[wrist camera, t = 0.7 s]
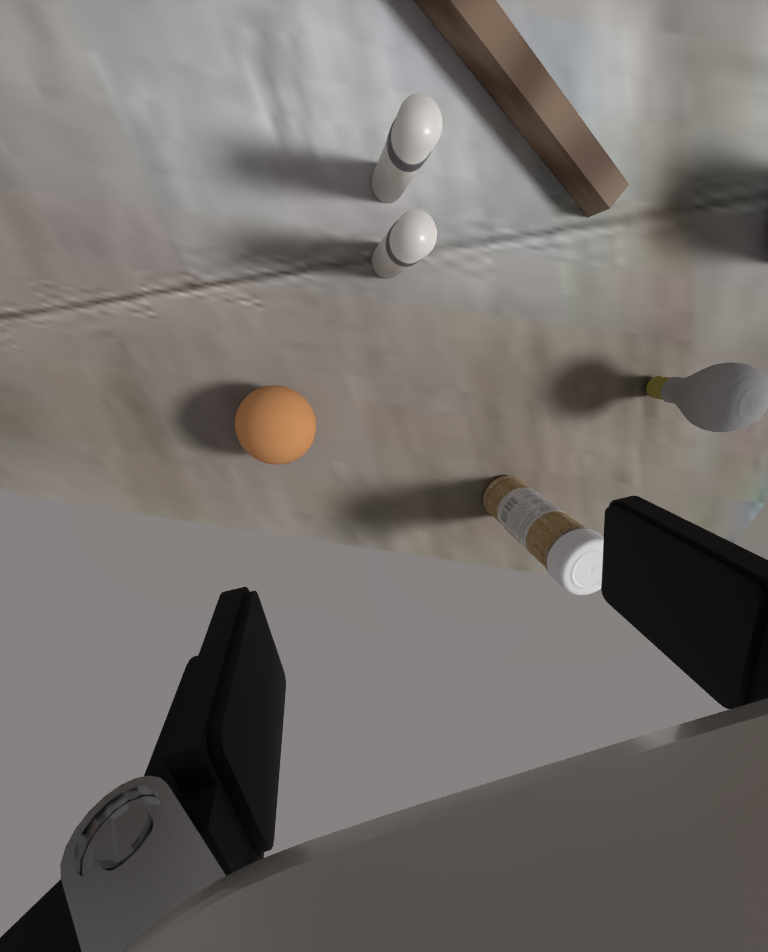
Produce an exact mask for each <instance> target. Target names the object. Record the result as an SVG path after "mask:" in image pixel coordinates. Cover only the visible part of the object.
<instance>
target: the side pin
mask: <svg viewBox="0 0 768 952" xmlns="http://www.w3.org/2000/svg"><path fill="white" fill-rule="evenodd" d="M441 131H442V116H441V112H440V109H439V107H438V106H437V104H436V103H435V101H434V100H433V99H432V98H430V97H429V96H427V95H425V94H413V95H411V96H409V97H408V98H407V99H406V100H405V101H404V102H403V103H402V105H401V107H400V109H399V112H398V114H397V117H396V118H395V120H394V122H393V124H392V126H391V129H390V131H389V134H388V137H387V141H386V144H385V146H384V148H383V151H382V153H381V156H380V158H379V161H378V163H377V166H376V168H375V170H374V173H373V175H372V180H371V185H372V190H373V192H374V194H375V196H376V197H377V198H378V199H379V200H380V201H382V202H384V203H393V202H395V201H396V200H398V199H399V197H400V196H401V195H402V193H403V192H404V190H405V189H406V187H407V186H408V184H409V183H410V181H411V180H412V178H413V177H414V175H415V174H416V172H417V171H418V170H419V168H420V167H421V166H422V165H423V164H424V162H425V161H426V159H427V158H428V156H429V155H430V153H431V151H432V149H433V147H434V146H435V145H436V143H437V141H438V140H439V138H440V135H441Z"/></svg>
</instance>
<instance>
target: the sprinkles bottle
mask: <svg viewBox="0 0 768 952" xmlns="http://www.w3.org/2000/svg"><path fill="white" fill-rule="evenodd" d="M483 503H484V507H485V509H486V511H487V512H488V513H489V514H491V515H492V516H494V517H495V518H496V519H497V520H498V521H499V522H500V523H501V524H502V525H503V526H504V527H505V529H506V530H507V531H508V532H509V533H510V534H511V535H512V536H513V537H514V538H515V539H516V540H517V541H518V542H519V543H520V544H522V545H523V546H524V547H525V548H526V549H527V550H528V551H529V552H530V553H531V554H532V555H533V556H535V558H536V559H537V560H538V561H539V562H541V563H542V564H543V565H544V566H545V567H546V569H547V570H548V572H549V574H550V575H551V576H552V578H553V579H554V580H556V582H557V583H559V584H560V585H561V586H562V587H563V588H564V589H565V590H567V591H568V592H570V593H572V594H577V595H585V594H590V593H593V592H595V591H597V590H599V589H601V584H602V564H603V543H604V537H603V536H601V535H600V534H598V533H597V532H596V531H594V530H591V529H588V528H585V527H584V526H583V525H581V524H580V523H578V522H577V521H575V520H574V519H573V518H571V517H570V516H569V515H568V514H567V513H565V512H564V511H562V510H561V509H559V508H558V507H557V506H555V505H554V504H552V503H551V502H549V501H548V500H547V499H545V498H544V497H542V496H541V495H540V494H538V493H537V492H535V491H534V490H532V489H530V488H529V487H527V486H526V485H524V484H523V483H522V482H521V481H520V480H519V479H518V478H516V477H513V476H507V475H506V476H502V477H499V478H497V479H495V480H494V481H492V482H491V483H490V484H489V485H488V487H487V489H486V490H485V492H484V496H483Z"/></svg>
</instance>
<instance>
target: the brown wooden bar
mask: <svg viewBox="0 0 768 952" xmlns="http://www.w3.org/2000/svg"><path fill="white" fill-rule="evenodd" d="M415 2H416V3H417V4H418V5H419V7H420V8H421V9H422V10H423V12H424V13H425V14H426V15H427V17H428V18H429V19H430V20H431V22H432V23H433V24H434V25H435V27H436V28H437V29H438V30H439V32H440V33H441V34H442V35H443V36H444V38H445V39H446V40H447V41H448V43H449V44H450V45H451V46H452V48H453V49H454V50H455V51H456V53H457V54H458V55H459V56H460V58H461V59H462V60H463V61H464V63H465V64H466V65H467V66H468V68H469V69H470V70H471V71H472V73H473V74H474V75H475V76H476V78H477V79H478V80H479V81H480V83H481V84H482V85H483V86H484V88H485V89H486V90H487V91H488V93H489V94H490V95H491V96H492V98H493V99H494V100H495V101H496V103H497V104H498V105H499V106H500V108H501V109H502V110H503V111H504V113H505V114H506V115H507V116H508V118H509V119H510V120H511V121H512V123H513V124H514V125H515V126H516V128H517V129H518V130H519V131H520V133H521V134H522V135H523V136H524V138H525V139H526V140H527V141H528V143H529V144H530V145H531V146H532V148H533V149H534V150H535V151H536V153H537V154H538V155H539V156H540V158H541V159H542V160H543V161H544V163H545V164H546V165H547V166H548V168H549V169H550V170H551V171H552V173H553V174H554V175H555V176H556V178H557V179H558V180H559V181H560V183H561V184H562V185H563V186H564V188H565V189H566V190H567V191H568V193H569V194H570V195H571V196H572V198H573V199H574V200H575V201H576V203H577V204H578V205H579V206H580V208H581V209H582V210H583V211H584V213H585V214H586V215H587V216H588V217H590V216H592V215H595V214H597V213H600V212H602V211H605V210H607V209H610V208H611V206H612V205H613V204H614V203H615V201H616V200H617V199H618V197H619V196H620V195H621V194H622V192H623V191H624V190H625V189H626V187H627V186H628V185H629V184H628V182H627V181H626V180H625V178H624V177H623V175H622V174H621V173H620V171H619V170H618V168H617V167H616V166H615V164H614V163H613V162H612V160H611V159H610V157H609V156H608V155H607V153H606V152H605V151H604V149H603V148H602V146H601V145H600V144H599V142H598V141H597V139H596V138H595V137H594V135H593V134H592V133H591V131H590V130H589V128H588V127H587V126H586V124H585V123H584V122H583V120H582V119H581V117H580V116H579V115H578V113H577V112H576V111H575V109H574V108H573V106H572V105H571V104H570V102H569V101H568V99H567V98H566V97H565V95H564V94H563V93H562V91H561V90H560V88H559V87H558V86H557V84H556V83H555V82H554V80H553V79H552V77H551V76H550V75H549V73H548V72H547V70H546V69H545V68H544V66H543V65H542V64H541V62H540V61H539V59H538V58H537V57H536V55H535V54H534V53H533V51H532V50H531V48H530V47H529V46H528V44H527V43H526V42H525V40H524V39H523V37H522V36H521V35H520V33H519V32H518V30H517V29H516V28H515V26H514V25H513V24H512V22H511V21H510V19H509V18H508V17H507V15H506V14H505V13H504V11H503V10H502V8H501V7H500V6H499V4H498V3H497V1H496V0H415Z"/></svg>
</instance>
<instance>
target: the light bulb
mask: <svg viewBox="0 0 768 952" xmlns="http://www.w3.org/2000/svg"><path fill="white" fill-rule="evenodd" d="M646 392H647V394H648V395H649V396H650V397H653V398H657V399H661V400H664V401H665V402H670V403H674V404H676V405H677V406H678V408H679V409H680V410H681V412H682V413H683V415H684V416H685V417H686V418H687V419H688V420H689V422H691V423H692V424H694V425H695V426H697V427H699V428H701V429H704V430H708V431H713V432H729V431H735V430H739V429H742V428H744V427H746V426H748V425H750V424H752V423H754V422H755V421H757V420H758V419H759V418H760V417H761V416H762V415H763V414H764V413H765V412H766V410H767V409H768V378H767V377H766V376H765V374H763V373H762V372H761V371H760V370H758V369H756V368H754V367H752V366H750V365H747V364H741V363H722V364H716V365H713V366H710V367H708V368H705V369H703V370H701V371H699V372H697V373H695V374H693V375H691V376H689V377H686V378H680V377H672V378H670V377H662V376H656V377H654V378H652V379H651V380H650V381H649V382H648V384H647V386H646Z"/></svg>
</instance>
